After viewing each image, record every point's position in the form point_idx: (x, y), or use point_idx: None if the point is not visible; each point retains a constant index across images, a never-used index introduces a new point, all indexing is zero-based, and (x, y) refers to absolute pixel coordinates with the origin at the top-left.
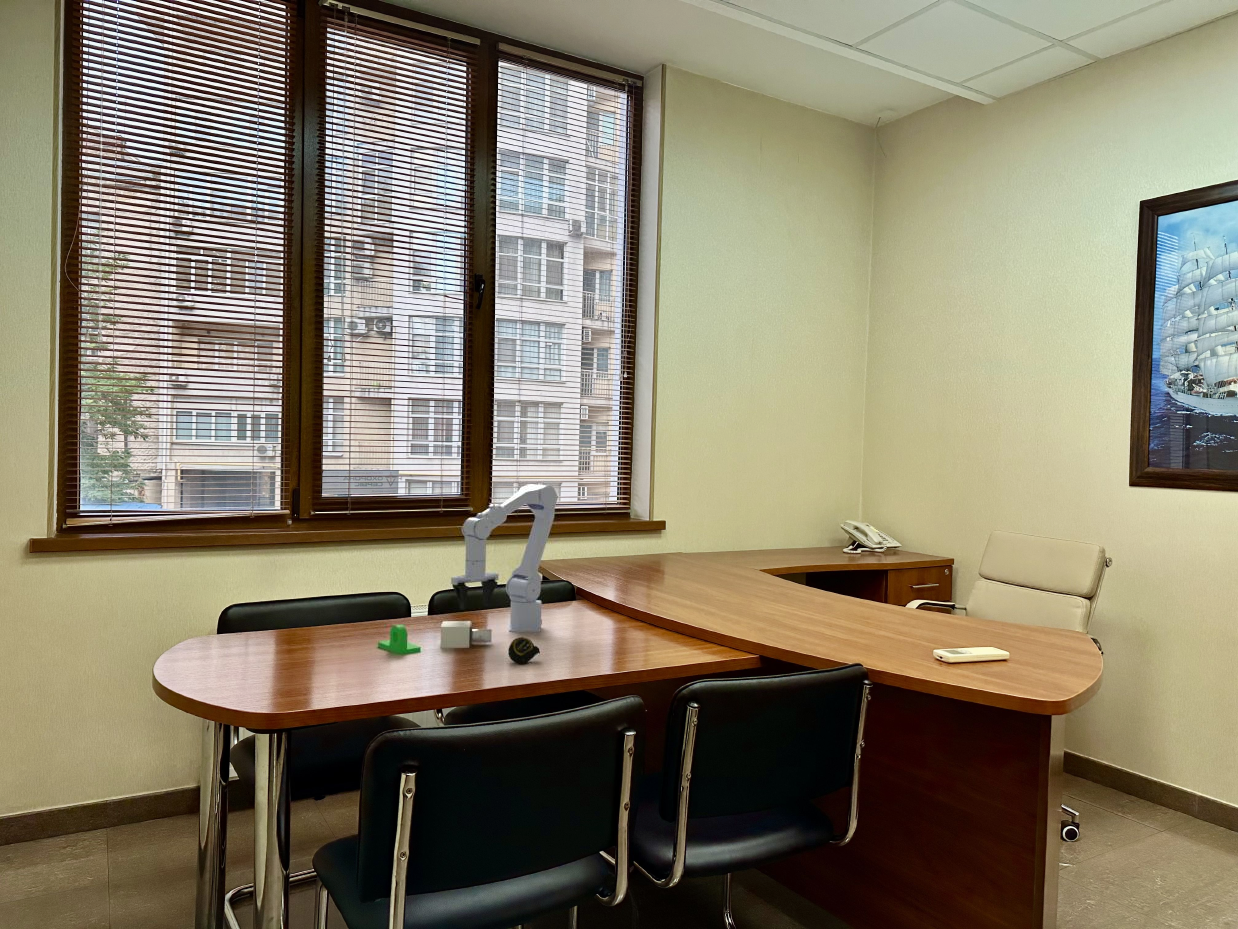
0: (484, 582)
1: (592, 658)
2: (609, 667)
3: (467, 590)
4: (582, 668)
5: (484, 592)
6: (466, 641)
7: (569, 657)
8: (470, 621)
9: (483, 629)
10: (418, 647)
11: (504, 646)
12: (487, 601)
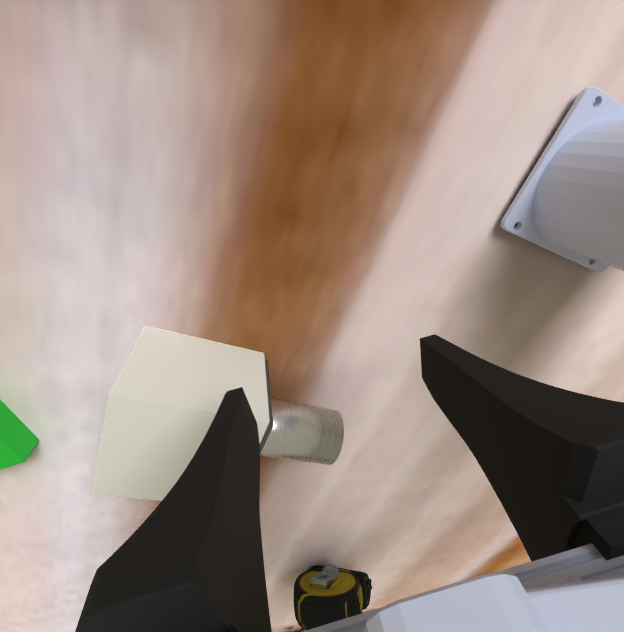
0: (563, 504)
1: (489, 528)
2: (470, 572)
3: (262, 606)
4: (423, 574)
5: (483, 412)
6: None
7: (454, 518)
8: (267, 424)
9: (305, 454)
10: (14, 464)
11: (366, 409)
12: (440, 406)
